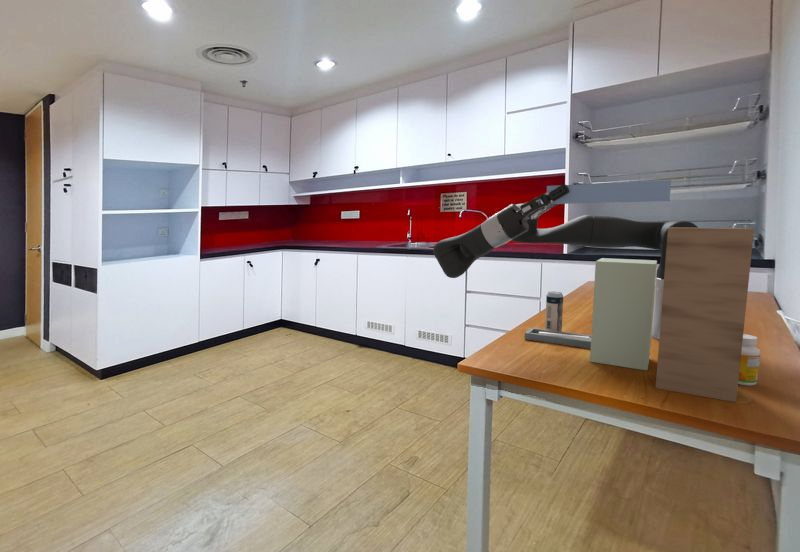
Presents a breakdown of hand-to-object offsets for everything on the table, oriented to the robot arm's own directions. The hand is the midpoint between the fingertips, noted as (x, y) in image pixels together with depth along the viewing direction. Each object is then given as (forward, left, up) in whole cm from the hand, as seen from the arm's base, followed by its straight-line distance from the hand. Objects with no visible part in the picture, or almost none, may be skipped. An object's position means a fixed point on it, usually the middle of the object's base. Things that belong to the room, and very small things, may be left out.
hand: (569, 188), depth 100 cm
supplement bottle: (-7, +35, -41) cm, 54 cm away
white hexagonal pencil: (-20, -2, -41) cm, 46 cm away
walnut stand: (+3, +26, -41) cm, 48 cm away
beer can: (-28, -8, -41) cm, 50 cm away
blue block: (0, +8, -3) cm, 8 cm away
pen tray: (-19, -2, -41) cm, 45 cm away
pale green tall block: (-9, +12, -41) cm, 43 cm away
